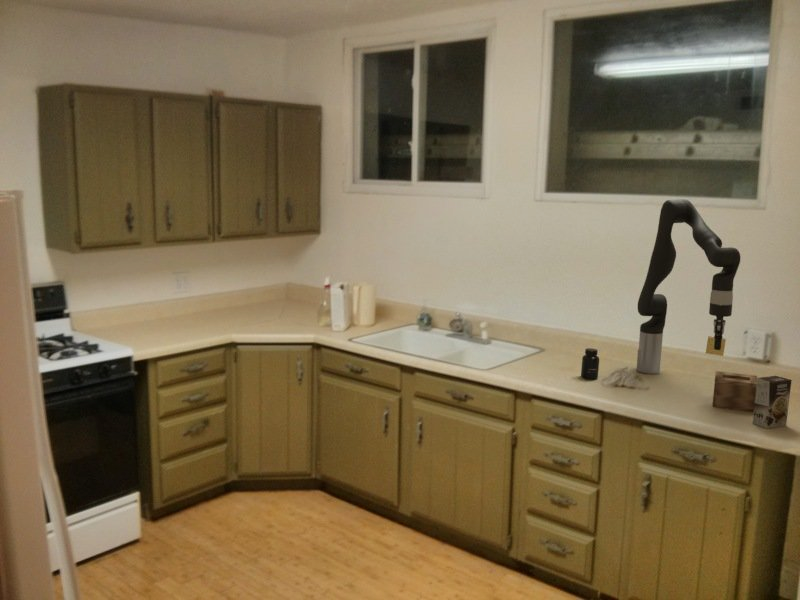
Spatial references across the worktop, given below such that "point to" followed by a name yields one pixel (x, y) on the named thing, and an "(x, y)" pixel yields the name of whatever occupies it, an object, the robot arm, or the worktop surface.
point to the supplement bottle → (590, 364)
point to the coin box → (735, 391)
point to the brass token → (710, 346)
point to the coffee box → (772, 401)
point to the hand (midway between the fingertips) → (717, 348)
